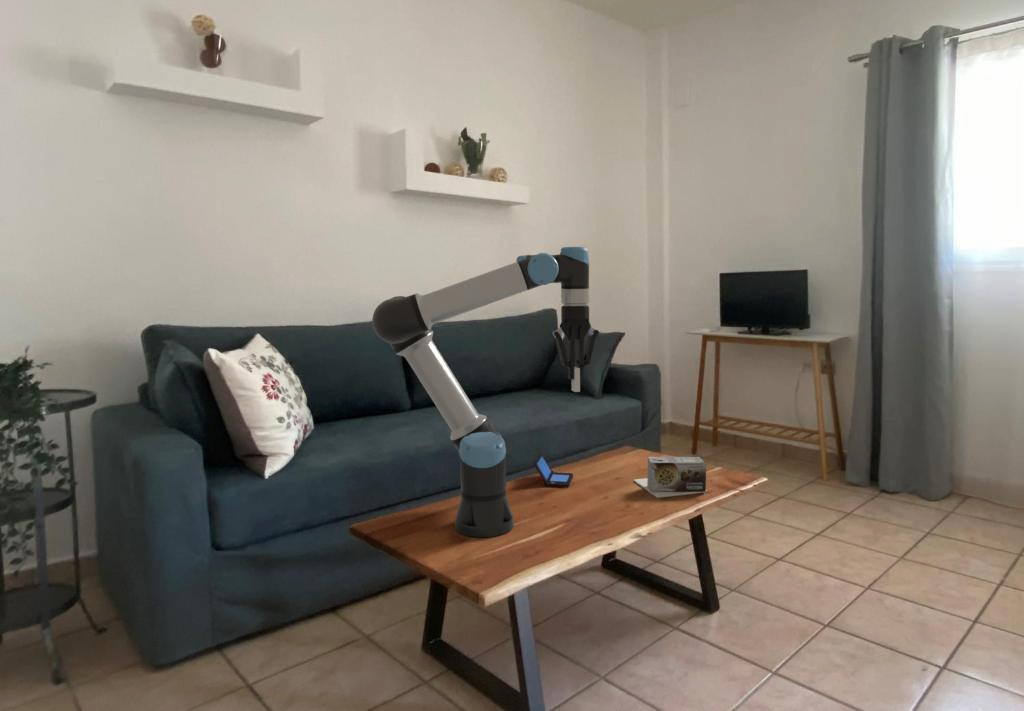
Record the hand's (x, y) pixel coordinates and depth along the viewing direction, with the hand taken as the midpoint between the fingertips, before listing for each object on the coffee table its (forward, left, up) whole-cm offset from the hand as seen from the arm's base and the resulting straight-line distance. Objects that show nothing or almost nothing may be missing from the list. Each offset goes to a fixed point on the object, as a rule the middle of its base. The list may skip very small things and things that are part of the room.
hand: (575, 390), depth 183 cm
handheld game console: (+1, +23, -33) cm, 40 cm away
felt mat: (+32, +7, -32) cm, 46 cm away
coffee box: (+24, +5, -27) cm, 37 cm away
